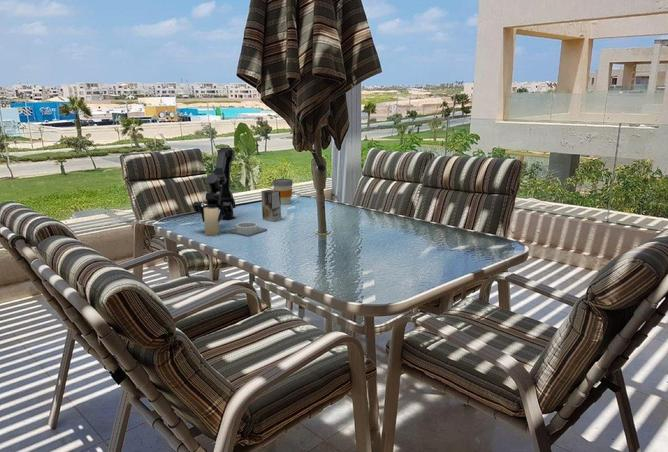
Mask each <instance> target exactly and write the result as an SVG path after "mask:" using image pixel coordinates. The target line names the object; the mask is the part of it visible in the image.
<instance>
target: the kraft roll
mask: <svg viewBox="0 0 668 452" xmlns="http://www.w3.org/2000/svg"><path fill="white" fill-rule="evenodd" d="M219 213H220V209H219V208H218V207H206V208H204V222H203V223H204V235H205V236H207V237H210V236H211V237H214V236H218V235H220V231H221V230H220V222H218V217H219Z"/></svg>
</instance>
